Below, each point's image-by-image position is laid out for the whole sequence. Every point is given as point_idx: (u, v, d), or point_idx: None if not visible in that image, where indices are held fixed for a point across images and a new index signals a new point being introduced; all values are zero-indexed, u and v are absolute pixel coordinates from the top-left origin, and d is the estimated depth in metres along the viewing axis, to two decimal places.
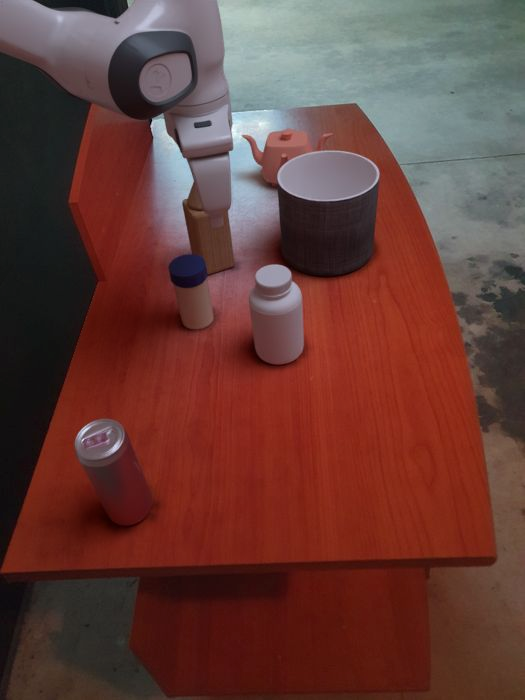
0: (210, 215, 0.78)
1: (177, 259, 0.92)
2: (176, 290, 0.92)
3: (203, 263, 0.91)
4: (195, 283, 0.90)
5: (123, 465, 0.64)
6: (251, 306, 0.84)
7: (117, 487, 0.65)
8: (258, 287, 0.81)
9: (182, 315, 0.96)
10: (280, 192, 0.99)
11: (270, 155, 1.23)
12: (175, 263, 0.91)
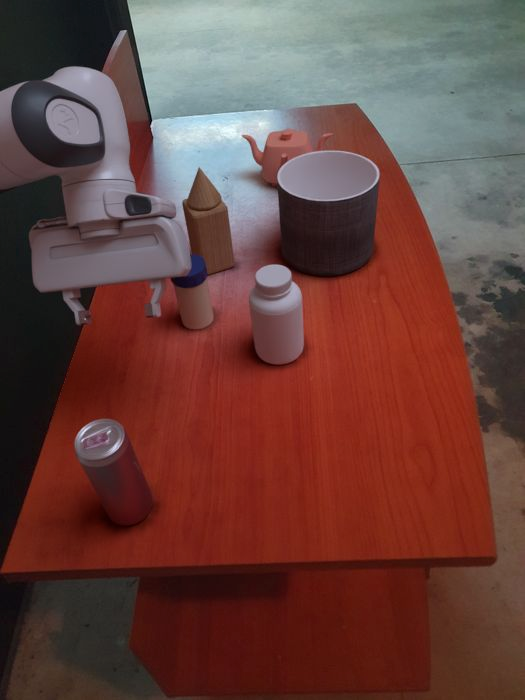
0: (158, 297, 0.71)
1: None
2: (176, 290, 0.92)
3: (203, 263, 0.91)
4: (195, 283, 0.90)
5: (123, 465, 0.64)
6: (251, 306, 0.84)
7: (117, 487, 0.65)
8: (258, 287, 0.81)
9: (182, 315, 0.96)
10: (280, 192, 0.99)
11: (270, 155, 1.23)
12: None
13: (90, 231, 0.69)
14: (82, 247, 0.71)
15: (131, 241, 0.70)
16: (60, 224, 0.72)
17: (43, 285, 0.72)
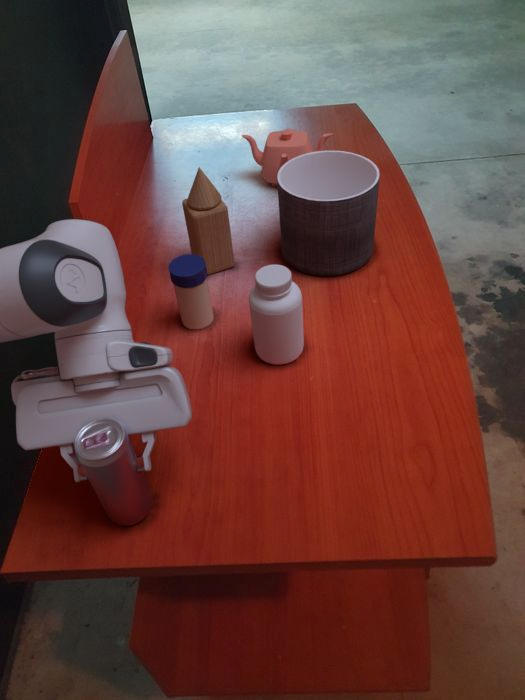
0: (150, 450, 0.67)
1: (177, 259, 0.92)
2: (176, 290, 0.92)
3: (203, 263, 0.91)
4: (195, 283, 0.90)
5: (122, 465, 0.64)
6: (251, 306, 0.84)
7: (117, 487, 0.65)
8: (258, 287, 0.81)
9: (182, 315, 0.96)
10: (280, 192, 0.99)
11: (270, 155, 1.23)
12: (175, 263, 0.91)
13: (88, 384, 0.64)
14: (76, 400, 0.66)
15: (132, 392, 0.66)
16: (49, 375, 0.67)
17: (29, 442, 0.65)
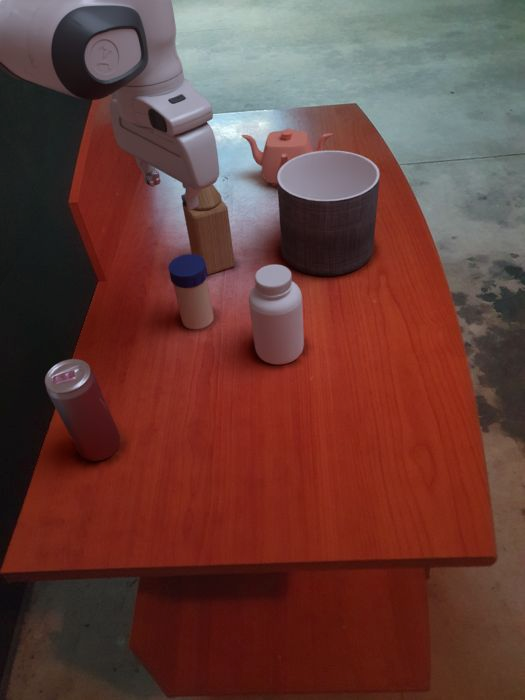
0: (189, 196, 0.77)
1: (177, 259, 0.92)
2: (176, 290, 0.92)
3: (203, 263, 0.91)
4: (195, 283, 0.90)
5: (88, 399, 0.71)
6: (251, 306, 0.84)
7: (84, 421, 0.73)
8: (258, 287, 0.81)
9: (182, 315, 0.96)
10: (280, 192, 0.99)
11: (270, 155, 1.23)
12: (175, 263, 0.91)
13: (133, 124, 0.73)
14: None
15: (165, 142, 0.72)
16: None
17: (120, 145, 0.82)
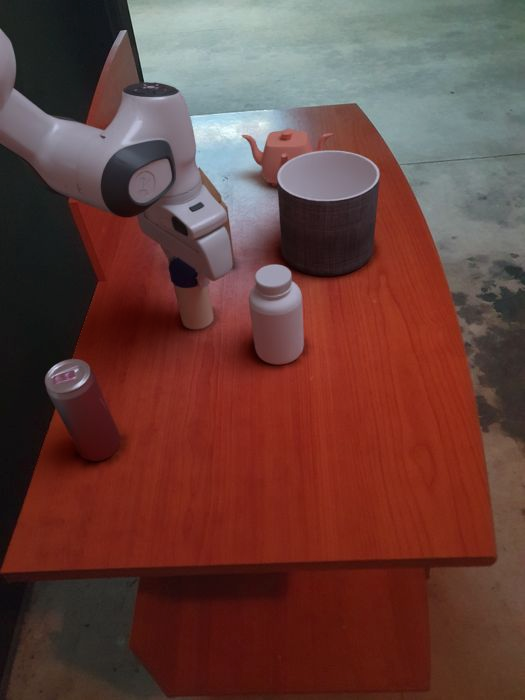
0: (201, 278, 0.88)
1: (177, 259, 0.92)
2: (176, 290, 0.92)
3: None
4: None
5: (88, 399, 0.71)
6: (251, 306, 0.84)
7: (84, 421, 0.73)
8: (258, 287, 0.81)
9: (182, 315, 0.96)
10: (280, 192, 0.99)
11: (270, 155, 1.23)
12: (175, 263, 0.91)
13: None
14: None
15: (185, 239, 0.83)
16: None
17: (143, 231, 0.92)
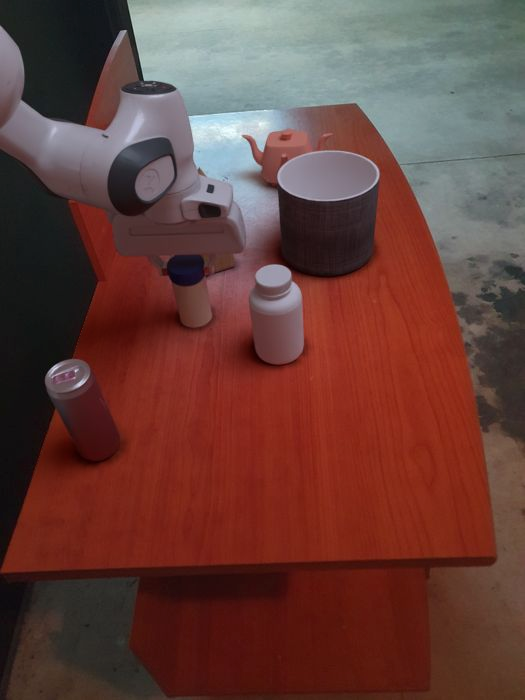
0: None
1: (170, 263, 0.91)
2: (175, 289, 0.92)
3: None
4: (203, 274, 0.91)
5: (88, 399, 0.71)
6: (251, 306, 0.84)
7: (84, 421, 0.73)
8: (258, 287, 0.81)
9: (181, 314, 0.96)
10: (280, 192, 0.99)
11: (270, 155, 1.23)
12: (173, 267, 0.90)
13: (167, 224, 0.82)
14: (157, 228, 0.85)
15: (200, 227, 0.84)
16: None
17: (125, 253, 0.88)
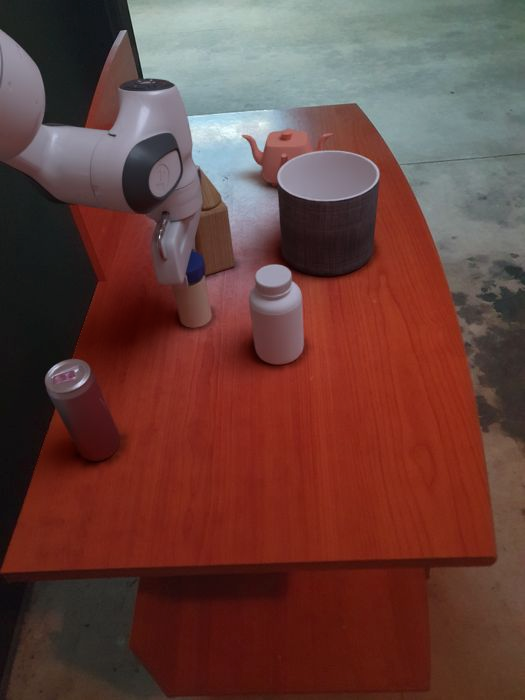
0: (193, 242, 0.94)
1: None
2: (175, 289, 0.92)
3: None
4: None
5: (88, 399, 0.71)
6: (251, 306, 0.84)
7: (84, 421, 0.73)
8: (258, 287, 0.81)
9: (181, 314, 0.96)
10: (280, 192, 0.99)
11: (270, 155, 1.23)
12: (189, 267, 0.90)
13: (193, 212, 0.84)
14: (183, 230, 0.84)
15: None
16: (168, 222, 0.79)
17: (183, 277, 0.82)
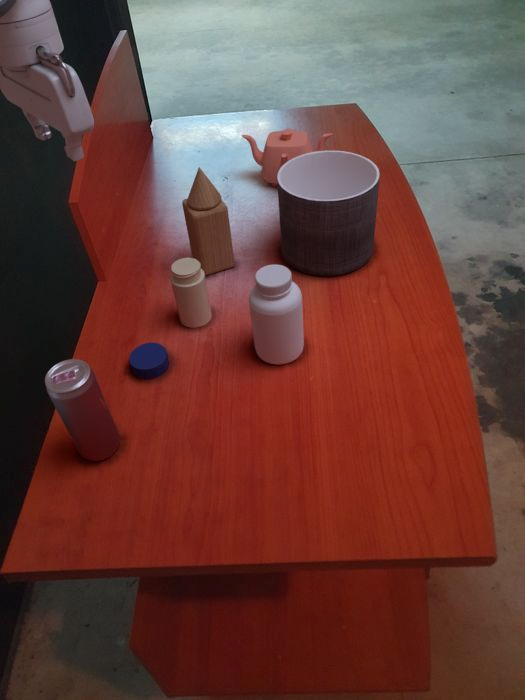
0: None
1: (157, 362, 0.89)
2: (175, 289, 0.92)
3: (131, 357, 0.90)
4: None
5: (88, 399, 0.71)
6: (251, 306, 0.84)
7: (84, 421, 0.73)
8: (258, 287, 0.81)
9: (181, 314, 0.96)
10: (280, 192, 0.99)
11: (270, 155, 1.23)
12: (159, 357, 0.90)
13: None
14: None
15: None
16: None
17: None
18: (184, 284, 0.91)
